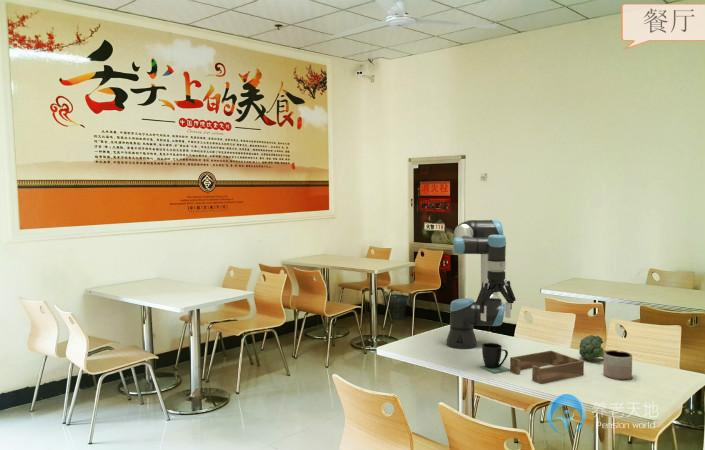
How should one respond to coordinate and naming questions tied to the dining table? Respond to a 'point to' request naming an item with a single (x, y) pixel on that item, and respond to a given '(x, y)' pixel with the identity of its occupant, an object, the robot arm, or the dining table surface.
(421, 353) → the dining table surface
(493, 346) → the mug
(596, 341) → the vegetable
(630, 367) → the planter
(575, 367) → the wooden tray frame
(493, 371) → the mat
